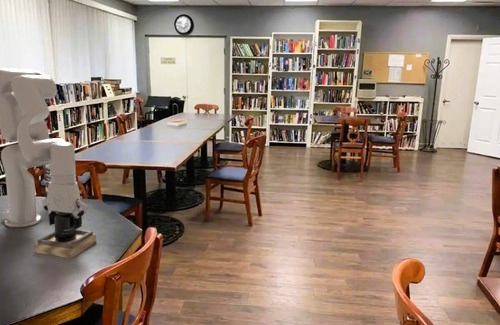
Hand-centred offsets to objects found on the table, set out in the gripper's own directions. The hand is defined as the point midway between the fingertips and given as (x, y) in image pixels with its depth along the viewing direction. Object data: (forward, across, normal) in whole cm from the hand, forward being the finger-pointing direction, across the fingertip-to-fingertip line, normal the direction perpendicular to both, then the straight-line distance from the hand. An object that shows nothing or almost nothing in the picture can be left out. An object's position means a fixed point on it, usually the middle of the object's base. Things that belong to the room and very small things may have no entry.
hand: (65, 225), depth 132 cm
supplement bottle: (+5, 0, 0) cm, 5 cm away
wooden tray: (+8, 0, 0) cm, 8 cm away
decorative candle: (+8, -32, +36) cm, 49 cm away
